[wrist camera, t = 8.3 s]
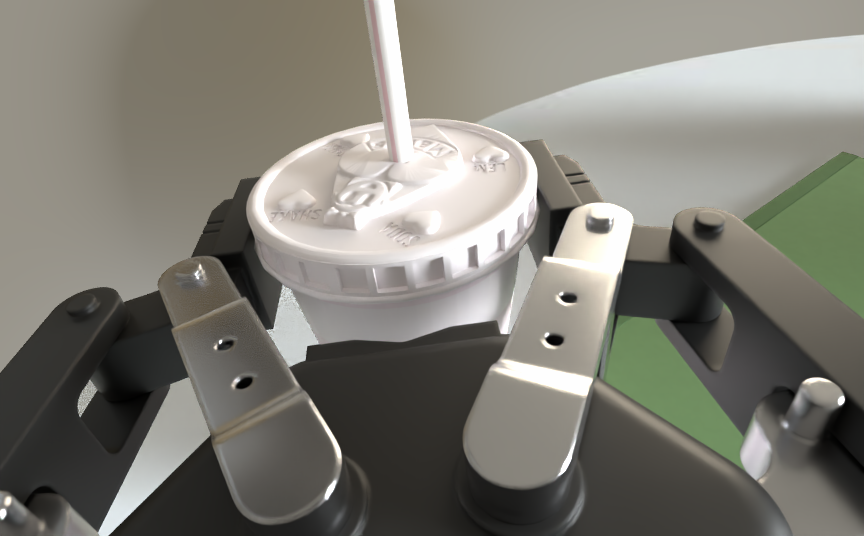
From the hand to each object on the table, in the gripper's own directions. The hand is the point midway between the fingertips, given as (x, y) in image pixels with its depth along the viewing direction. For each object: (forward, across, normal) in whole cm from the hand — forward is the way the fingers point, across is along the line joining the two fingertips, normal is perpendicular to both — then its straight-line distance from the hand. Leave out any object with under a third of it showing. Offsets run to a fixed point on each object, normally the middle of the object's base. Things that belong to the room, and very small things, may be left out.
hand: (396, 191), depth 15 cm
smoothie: (-2, 0, +8) cm, 9 cm away
